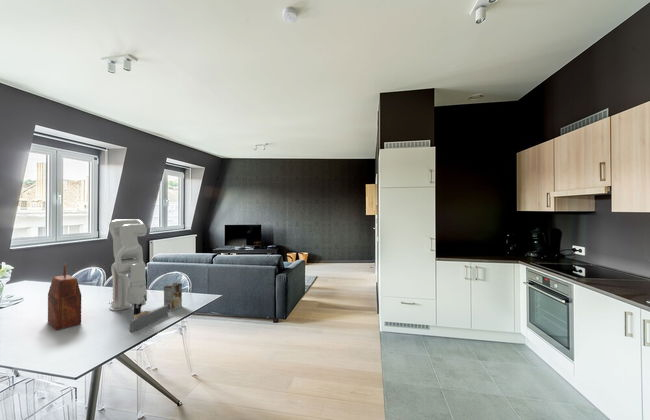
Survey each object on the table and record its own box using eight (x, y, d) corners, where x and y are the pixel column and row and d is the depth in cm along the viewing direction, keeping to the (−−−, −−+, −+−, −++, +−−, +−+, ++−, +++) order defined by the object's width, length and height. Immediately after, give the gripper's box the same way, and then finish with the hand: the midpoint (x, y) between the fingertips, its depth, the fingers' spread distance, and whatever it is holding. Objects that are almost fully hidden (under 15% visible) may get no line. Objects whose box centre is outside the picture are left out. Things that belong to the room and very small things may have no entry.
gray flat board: (130, 331, 141) (130, 320, 141) (165, 314, 165) (165, 305, 165) (133, 332, 141) (133, 321, 141) (167, 314, 164) (167, 305, 164)
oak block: (134, 323, 151) (134, 315, 151) (144, 318, 158) (144, 310, 158) (144, 324, 150) (144, 316, 150) (154, 320, 157) (154, 311, 157)
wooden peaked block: (71, 317, 160) (72, 260, 161) (81, 324, 150) (81, 263, 150) (47, 322, 152) (48, 263, 152) (55, 331, 141) (56, 267, 141)
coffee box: (174, 305, 180) (174, 282, 180) (182, 306, 179) (182, 283, 179) (163, 310, 171) (163, 286, 171) (171, 311, 170) (171, 287, 170)
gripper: (121, 284, 152) (120, 315, 152) (142, 286, 149) (142, 317, 149) (133, 281, 159) (132, 310, 159) (153, 282, 156) (153, 312, 156)
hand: (137, 314), depth 154 cm, fingers closed
